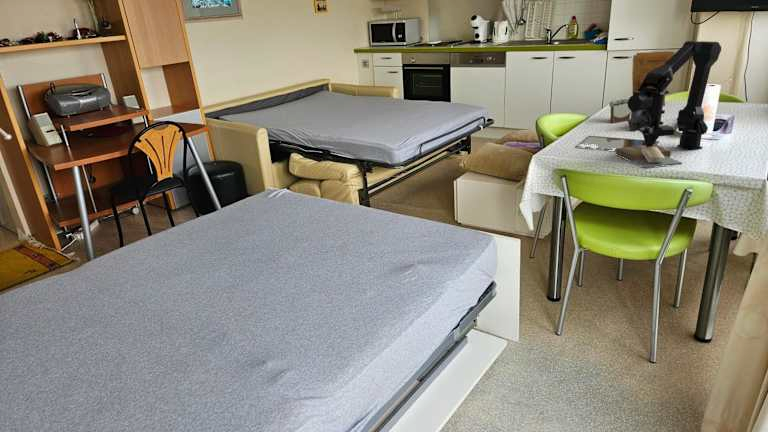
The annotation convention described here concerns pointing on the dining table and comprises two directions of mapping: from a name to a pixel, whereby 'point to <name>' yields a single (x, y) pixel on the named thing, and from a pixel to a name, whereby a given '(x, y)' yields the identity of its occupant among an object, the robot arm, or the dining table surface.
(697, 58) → the robot arm
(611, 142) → the rectangular mirror
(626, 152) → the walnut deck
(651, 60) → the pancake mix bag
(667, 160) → the rubber mat
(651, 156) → the maple tile
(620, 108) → the food container
